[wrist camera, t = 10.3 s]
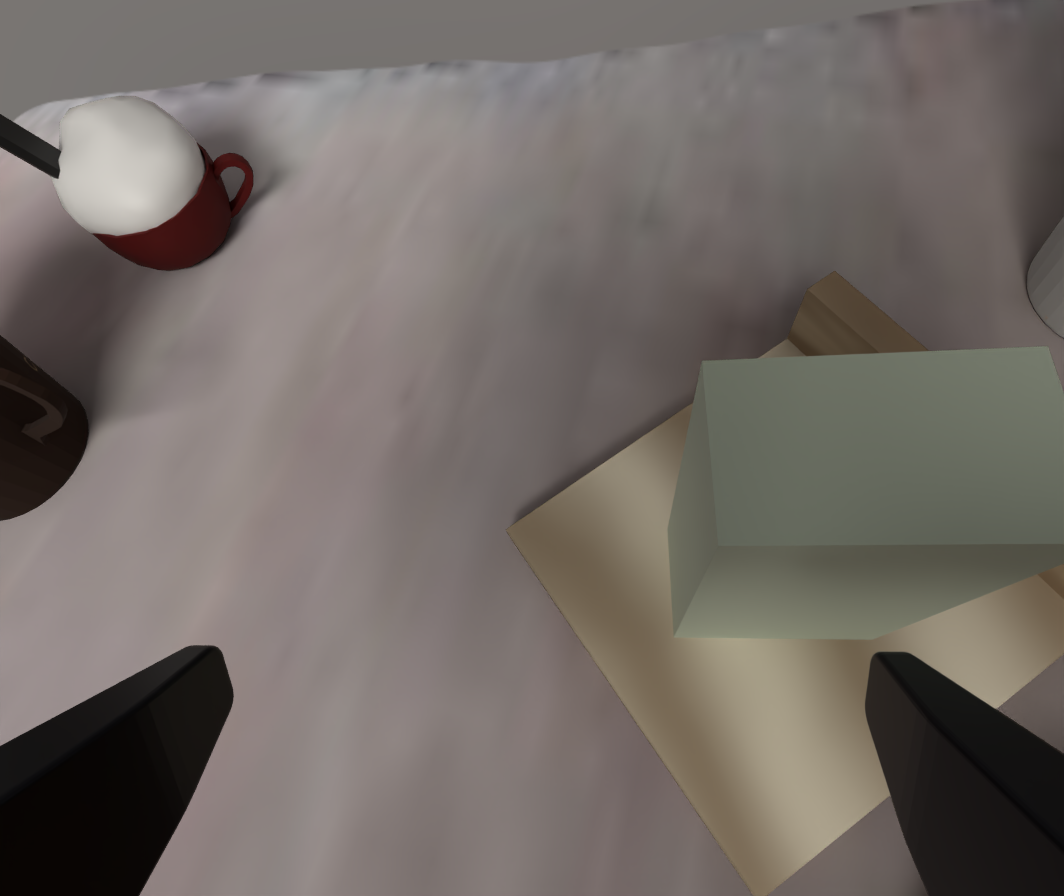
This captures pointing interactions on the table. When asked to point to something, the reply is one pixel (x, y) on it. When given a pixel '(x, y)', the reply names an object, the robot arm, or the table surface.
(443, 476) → the table surface
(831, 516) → the sage green box
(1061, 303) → the coffee cup
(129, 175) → the cocoa
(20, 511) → the coffee mug
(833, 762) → the ledge board
